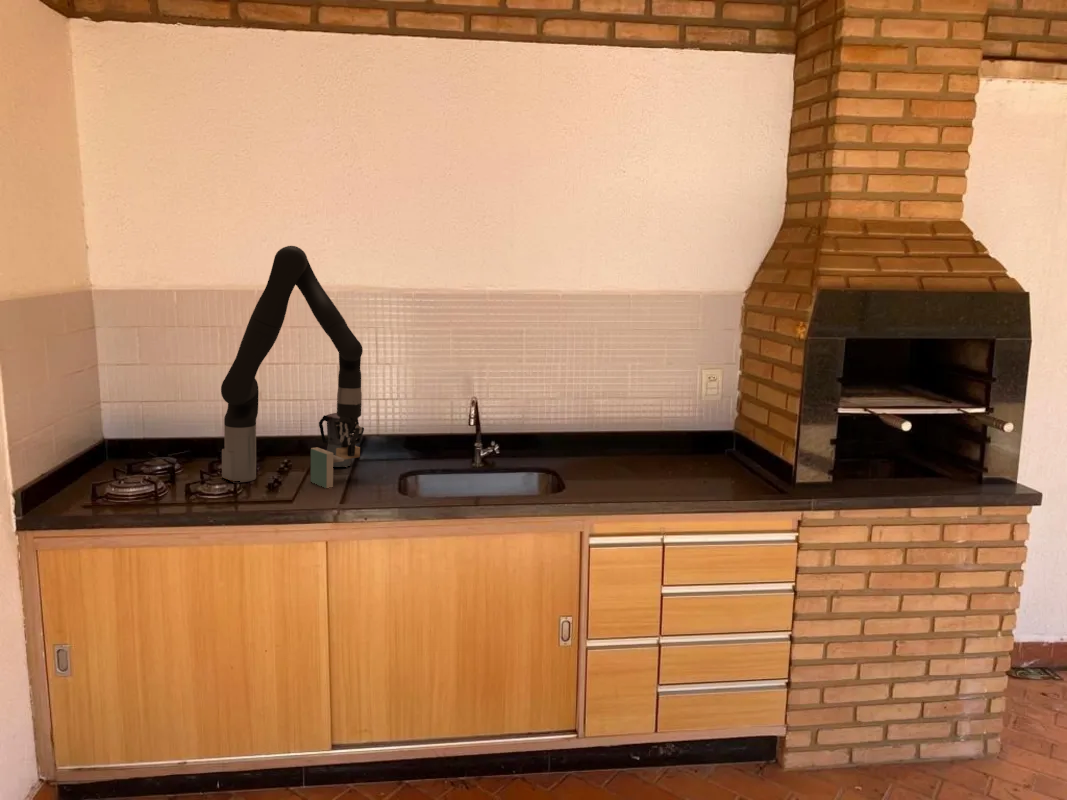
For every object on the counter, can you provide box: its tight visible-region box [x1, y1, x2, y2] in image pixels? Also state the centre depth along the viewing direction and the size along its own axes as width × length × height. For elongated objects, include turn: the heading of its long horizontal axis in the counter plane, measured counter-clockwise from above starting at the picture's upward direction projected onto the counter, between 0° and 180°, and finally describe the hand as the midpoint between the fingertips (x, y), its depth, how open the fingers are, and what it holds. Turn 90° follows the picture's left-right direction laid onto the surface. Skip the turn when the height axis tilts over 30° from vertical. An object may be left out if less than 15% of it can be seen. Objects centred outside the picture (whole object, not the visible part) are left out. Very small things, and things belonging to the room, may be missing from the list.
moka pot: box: [318, 412, 353, 467], centre depth 273 cm, size 10×15×20 cm, turn 148°
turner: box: [333, 445, 361, 463], centre depth 255 cm, size 12×6×3 cm, turn 137°
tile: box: [310, 447, 334, 489], centre depth 250 cm, size 2×9×11 cm, turn 46°
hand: (348, 454), depth 257 cm, fingers closed on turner, 2 cm apart
